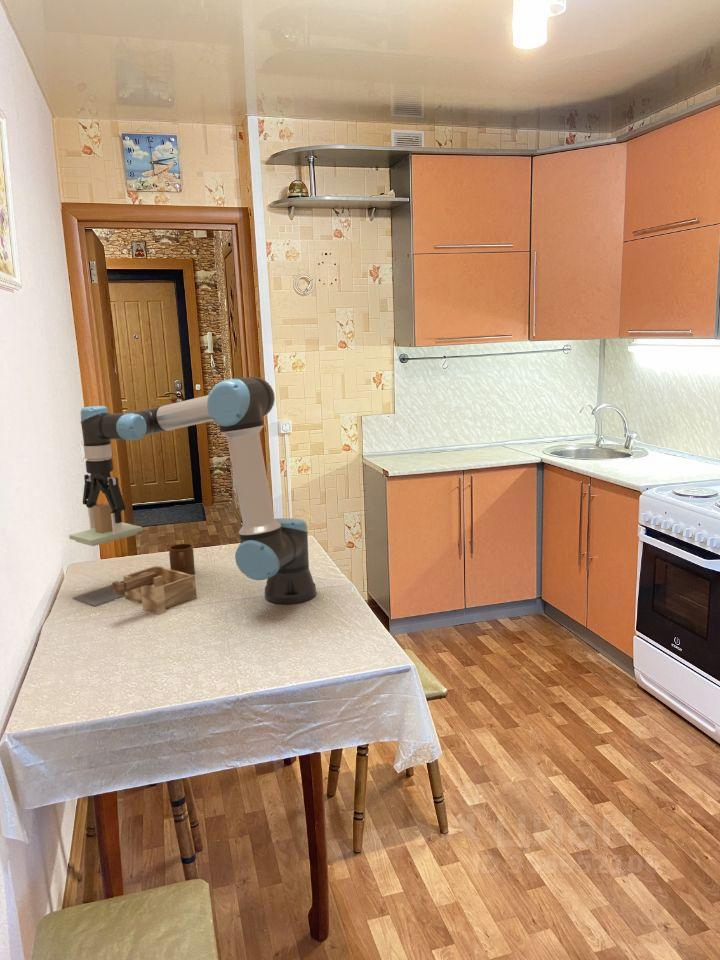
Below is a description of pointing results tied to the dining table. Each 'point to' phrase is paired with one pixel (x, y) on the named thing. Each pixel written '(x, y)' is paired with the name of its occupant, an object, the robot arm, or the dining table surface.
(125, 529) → the lid
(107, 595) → the mat
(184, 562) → the mug
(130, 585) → the bar
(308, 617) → the dining table surface
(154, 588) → the toolbox
